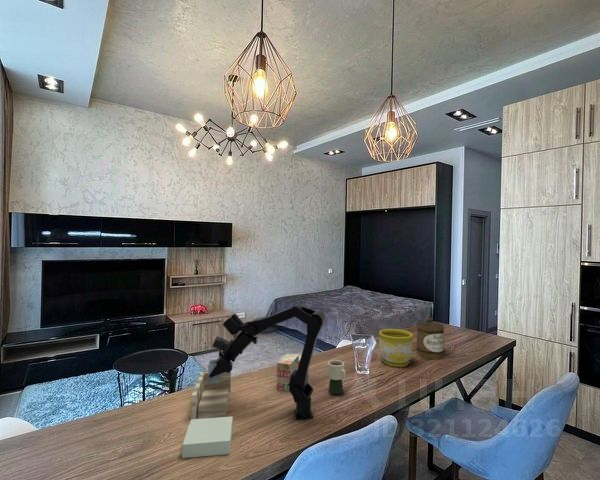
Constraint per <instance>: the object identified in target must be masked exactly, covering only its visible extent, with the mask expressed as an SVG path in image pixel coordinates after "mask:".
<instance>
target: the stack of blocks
mask: <svg viewBox="0 0 600 480" xmlns="http://www.w3.org/2000/svg"><path fill="white" fill-rule="evenodd" d="M301 355H302V354H298V353H285V355H284V356H283V357H282V358H280V360H279V361H277V362H276V364H277V365H276V366H277V367H276V381H277V383H276V385H277V386H276V390H278V391H282V392H283V391H284V392H289V393H290V391H289V386H288V384H289V382H290V377H291V374H292V373H293V372H294V370H295V369H296V370H298V366H299V363H300V359H301Z"/></svg>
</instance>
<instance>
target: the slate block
mask: <svg viewBox="0 0 600 480" xmlns="http://www.w3.org/2000/svg"><path fill="white" fill-rule="evenodd" d="M217 359H218V358H215V359H213V358H211V359H209V363H208V369H207V370H208V383H219V380H220V374H219V375H216V376H214V377H211V378H210V377H209V375H210V373H211V372H212V370H213V369H214V368H215V366H216V365H217V363H216V361H217Z"/></svg>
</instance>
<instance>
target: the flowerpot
mask: <svg viewBox="0 0 600 480" xmlns="http://www.w3.org/2000/svg"><path fill="white" fill-rule="evenodd" d="M378 335H379V341H378V342H379V343H378V350H379V353H380V356H381V357H382V358H381V360H382V361H383V363H384V364H385V365H387V366H389V367H393V366H394V367H395V368H404V367H407V366H408V365H409V364H410V359H411V358H412V357H413V356H412V355H413V353H414V352H413V350H414V348H413V347H414V346H413V337H414V335H413V333H412V332H411V331H408V330H405V329H399V328H386V329H381V330H379V332H378Z"/></svg>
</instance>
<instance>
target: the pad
mask: <svg viewBox="0 0 600 480" xmlns="http://www.w3.org/2000/svg"><path fill="white" fill-rule="evenodd" d="M233 420H234V419H233V416H224V417H211V418H196V419H190V422H189V424H188V427H187V431H186V433H185V436H184V439H183V440H182V441H183V442H182V444H181V446H182V447H181V448H182V449H181V459H186V458H187V459H188V458H189V459H190V458H199V457H210V456H219V455H230V454H231V445H232V436H233V429H234V428H233V425H234V424H233V423H234V422H233Z"/></svg>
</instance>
